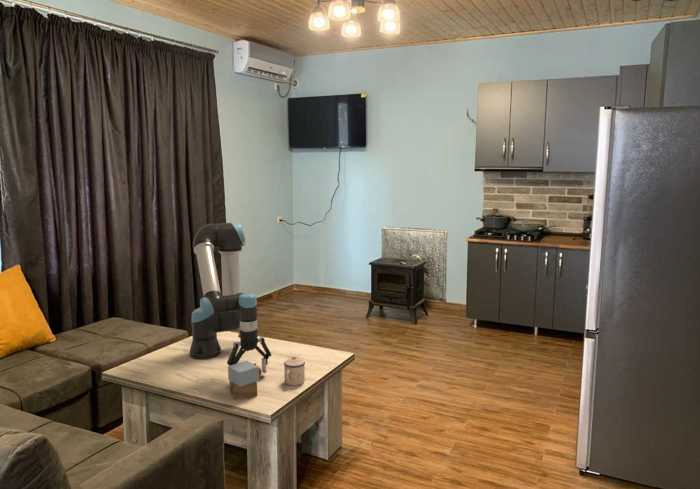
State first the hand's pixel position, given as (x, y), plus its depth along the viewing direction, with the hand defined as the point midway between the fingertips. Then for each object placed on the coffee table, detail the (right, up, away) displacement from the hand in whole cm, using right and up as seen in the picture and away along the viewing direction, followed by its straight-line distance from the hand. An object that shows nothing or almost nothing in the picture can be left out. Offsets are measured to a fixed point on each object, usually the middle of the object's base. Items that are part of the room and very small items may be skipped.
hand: (250, 376), depth 237 cm
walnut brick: (0, -4, -14) cm, 15 cm away
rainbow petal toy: (0, -2, +1) cm, 2 cm away
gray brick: (0, +2, -15) cm, 15 cm away
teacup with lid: (+19, -2, -4) cm, 20 cm away
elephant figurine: (-12, +6, +49) cm, 50 cm away
